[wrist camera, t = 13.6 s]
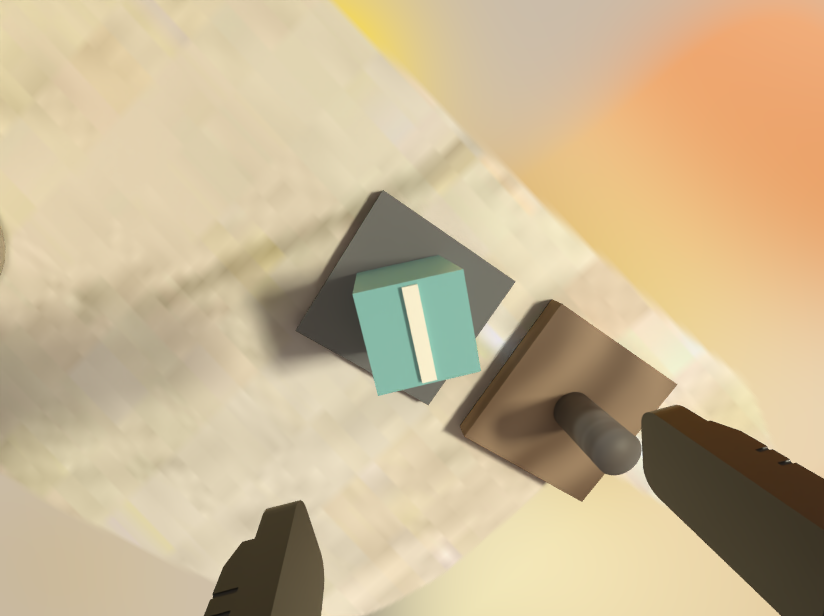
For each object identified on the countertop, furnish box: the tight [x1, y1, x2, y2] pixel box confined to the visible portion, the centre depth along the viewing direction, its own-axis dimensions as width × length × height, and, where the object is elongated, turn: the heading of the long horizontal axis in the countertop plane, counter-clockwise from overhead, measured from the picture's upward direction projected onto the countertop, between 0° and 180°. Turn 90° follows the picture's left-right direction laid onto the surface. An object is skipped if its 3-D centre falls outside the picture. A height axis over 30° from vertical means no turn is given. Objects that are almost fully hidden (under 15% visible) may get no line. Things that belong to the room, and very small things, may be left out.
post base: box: [460, 300, 677, 501], centre depth 27 cm, size 12×12×7 cm
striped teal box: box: [353, 255, 481, 396], centre depth 23 cm, size 6×6×7 cm
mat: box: [296, 190, 515, 405], centre depth 27 cm, size 11×11×1 cm
